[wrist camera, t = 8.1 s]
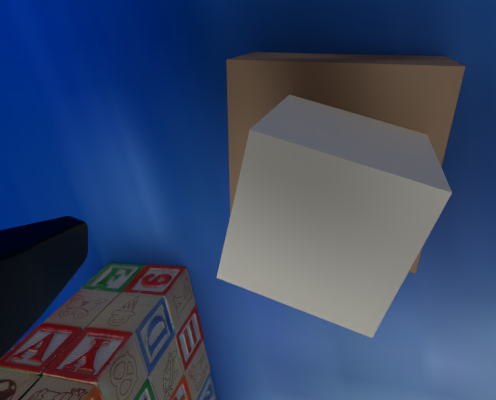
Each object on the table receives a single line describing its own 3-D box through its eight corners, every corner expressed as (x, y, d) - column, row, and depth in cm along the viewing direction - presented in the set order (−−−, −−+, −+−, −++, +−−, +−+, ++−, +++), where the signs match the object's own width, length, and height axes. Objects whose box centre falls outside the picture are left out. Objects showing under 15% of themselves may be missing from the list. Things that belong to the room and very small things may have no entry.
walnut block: (444, 55, 15) (465, 66, 12) (408, 226, 19) (416, 273, 15) (255, 51, 17) (226, 59, 14) (255, 205, 21) (231, 242, 17)
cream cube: (427, 134, 13) (452, 192, 9) (373, 248, 15) (372, 338, 11) (289, 94, 14) (249, 129, 9) (259, 208, 16) (216, 277, 12)
